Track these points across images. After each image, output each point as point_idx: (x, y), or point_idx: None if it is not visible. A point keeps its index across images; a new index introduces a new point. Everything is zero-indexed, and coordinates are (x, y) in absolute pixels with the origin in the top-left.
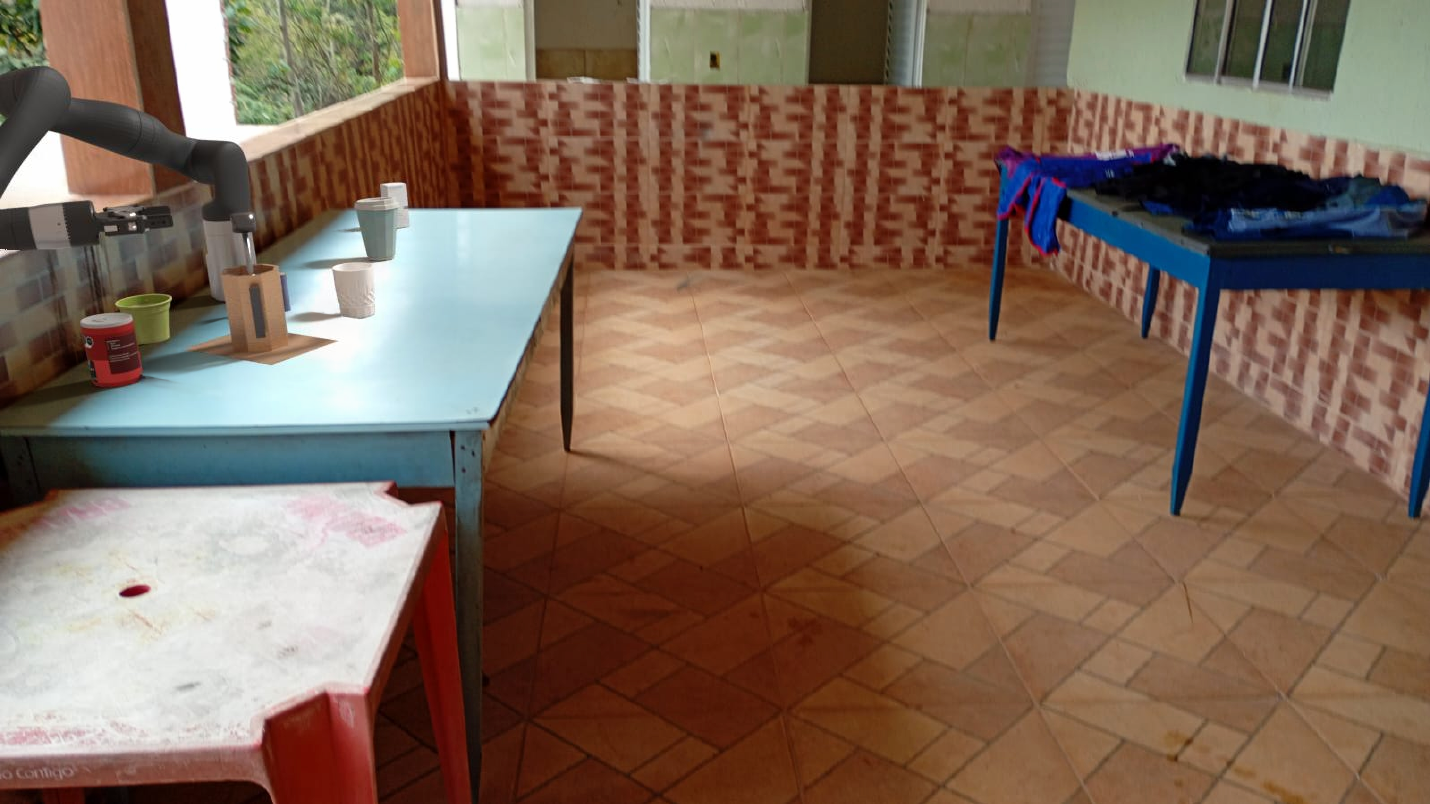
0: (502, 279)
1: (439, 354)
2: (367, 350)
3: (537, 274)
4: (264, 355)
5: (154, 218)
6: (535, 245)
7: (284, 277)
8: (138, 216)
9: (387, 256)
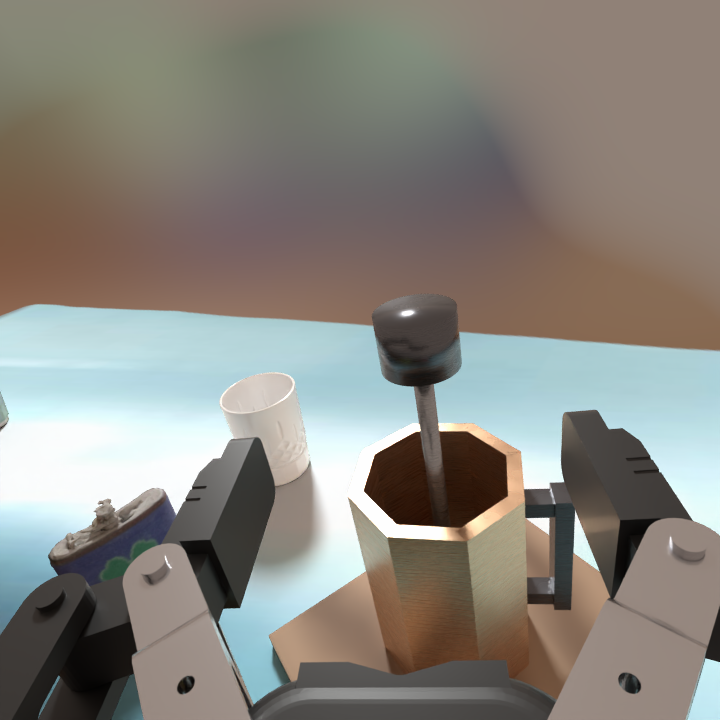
0: (242, 343)
1: (587, 396)
2: (530, 466)
3: (250, 324)
4: (566, 628)
5: (664, 492)
6: (129, 323)
7: (167, 496)
8: (708, 579)
9: (5, 417)
